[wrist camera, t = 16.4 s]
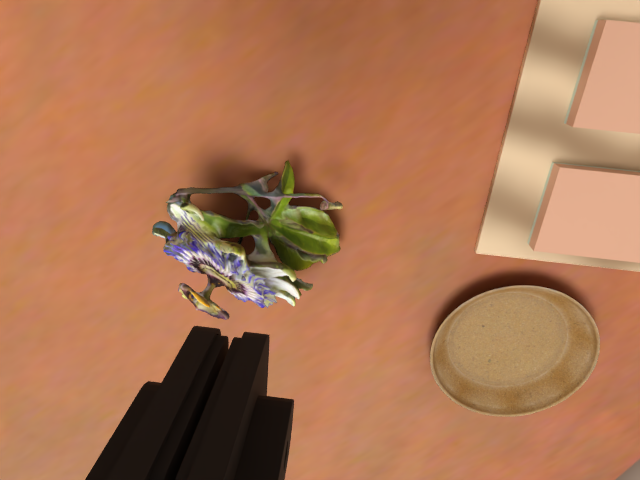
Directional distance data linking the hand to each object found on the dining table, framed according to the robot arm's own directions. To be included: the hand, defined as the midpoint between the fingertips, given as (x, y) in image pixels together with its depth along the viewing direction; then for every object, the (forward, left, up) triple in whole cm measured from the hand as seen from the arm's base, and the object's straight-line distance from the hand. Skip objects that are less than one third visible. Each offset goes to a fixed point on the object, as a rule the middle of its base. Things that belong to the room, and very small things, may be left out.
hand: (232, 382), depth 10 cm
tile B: (+4, +18, -28) cm, 33 cm away
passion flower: (+8, -5, -29) cm, 31 cm away
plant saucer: (+18, +19, -30) cm, 40 cm away
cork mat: (-1, +21, -29) cm, 36 cm away
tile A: (-6, +18, -28) cm, 34 cm away
